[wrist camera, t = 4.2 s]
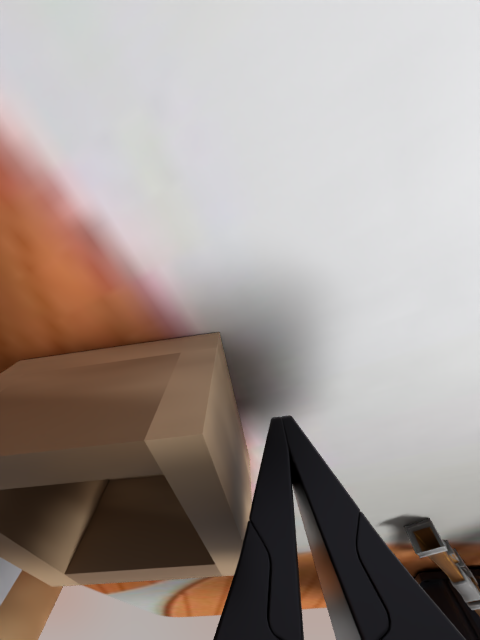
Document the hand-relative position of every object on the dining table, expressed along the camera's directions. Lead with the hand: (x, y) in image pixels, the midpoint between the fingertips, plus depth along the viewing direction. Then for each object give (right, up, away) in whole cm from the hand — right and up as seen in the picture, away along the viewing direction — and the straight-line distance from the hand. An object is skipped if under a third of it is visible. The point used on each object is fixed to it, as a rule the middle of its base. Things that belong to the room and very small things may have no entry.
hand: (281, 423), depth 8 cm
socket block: (-6, 0, +1) cm, 6 cm away
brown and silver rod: (+13, -12, +8) cm, 19 cm away
